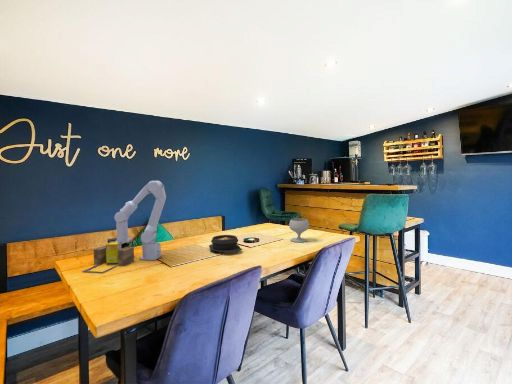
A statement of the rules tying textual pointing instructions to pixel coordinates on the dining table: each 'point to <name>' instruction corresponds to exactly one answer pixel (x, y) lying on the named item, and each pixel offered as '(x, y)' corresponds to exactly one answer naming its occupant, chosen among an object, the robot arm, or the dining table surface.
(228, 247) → the black round squat piece
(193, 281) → the dining table surface
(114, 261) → the supplement box
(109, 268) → the stand outline
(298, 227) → the chalice
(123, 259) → the shelf blocks
